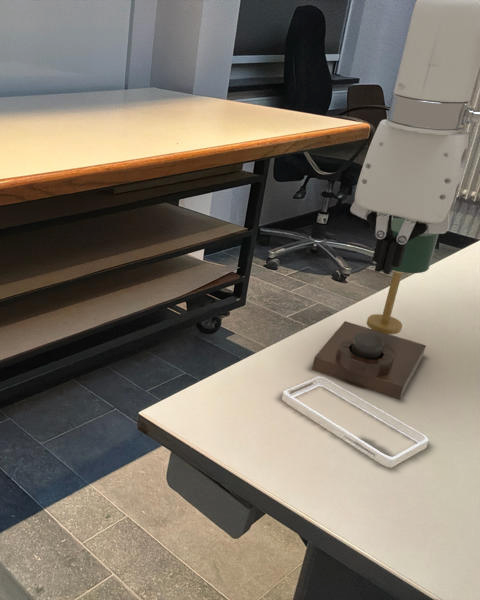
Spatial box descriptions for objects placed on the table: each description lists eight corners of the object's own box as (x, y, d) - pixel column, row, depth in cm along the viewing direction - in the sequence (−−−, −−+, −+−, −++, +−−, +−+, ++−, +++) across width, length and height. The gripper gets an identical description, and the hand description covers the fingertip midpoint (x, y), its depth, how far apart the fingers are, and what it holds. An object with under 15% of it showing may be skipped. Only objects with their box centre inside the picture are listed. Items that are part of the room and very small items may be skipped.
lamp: (415, 325, 93) (444, 225, 87) (403, 344, 88) (433, 240, 82) (365, 310, 97) (388, 214, 90) (351, 328, 92) (375, 227, 85)
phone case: (428, 448, 75) (318, 383, 86) (431, 438, 75) (320, 374, 86) (388, 470, 71) (279, 400, 83) (391, 460, 71) (281, 391, 82)
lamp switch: (383, 352, 87) (387, 338, 86) (376, 363, 84) (380, 349, 83) (355, 343, 89) (358, 329, 88) (347, 354, 86) (350, 340, 85)
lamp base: (422, 359, 93) (429, 333, 91) (397, 404, 83) (405, 376, 81) (341, 334, 99) (347, 309, 97) (309, 373, 88) (315, 347, 87)
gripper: (508, 120, 72) (457, 277, 80) (365, 100, 80) (332, 245, 88) (498, 130, 66) (445, 298, 75) (346, 108, 74) (312, 262, 82)
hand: (384, 269), depth 81 cm, fingers closed
